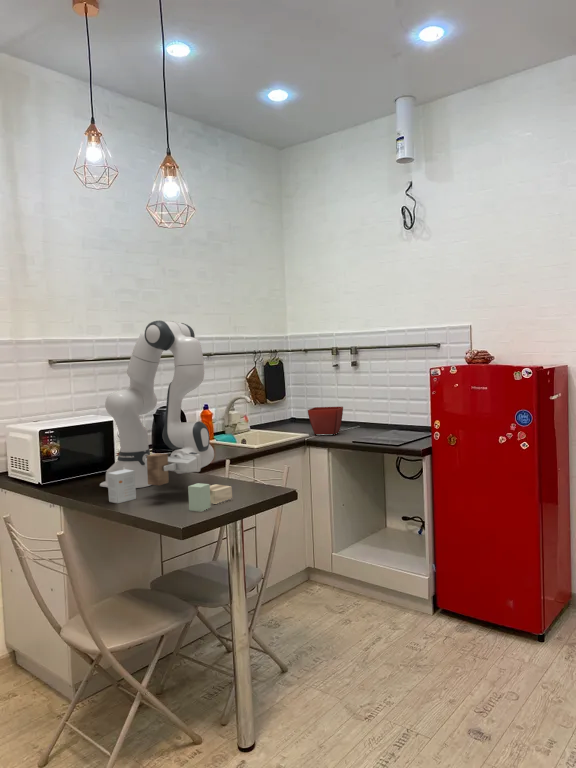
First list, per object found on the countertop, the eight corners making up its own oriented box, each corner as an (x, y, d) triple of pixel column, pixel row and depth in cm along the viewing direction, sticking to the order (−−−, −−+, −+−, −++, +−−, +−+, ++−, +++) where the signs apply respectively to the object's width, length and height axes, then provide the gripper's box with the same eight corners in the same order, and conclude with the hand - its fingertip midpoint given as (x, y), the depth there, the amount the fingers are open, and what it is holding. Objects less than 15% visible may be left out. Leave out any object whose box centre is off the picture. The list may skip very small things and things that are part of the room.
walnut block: (147, 484, 202) (146, 455, 201) (157, 481, 206) (156, 453, 206) (159, 485, 200) (157, 456, 199) (168, 482, 204) (167, 454, 203)
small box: (127, 497, 215) (125, 468, 215) (136, 498, 212) (134, 470, 211) (108, 501, 209) (106, 472, 209) (117, 503, 205) (115, 474, 205)
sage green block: (189, 510, 191) (188, 486, 191) (198, 506, 196) (197, 483, 195) (201, 511, 189) (200, 487, 189) (210, 508, 193) (209, 484, 193)
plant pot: (308, 436, 362) (307, 409, 361) (315, 432, 380) (314, 407, 379) (338, 436, 356) (337, 409, 355) (344, 432, 374) (343, 406, 374)
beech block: (199, 502, 202) (198, 488, 202) (216, 498, 208) (215, 484, 208) (215, 505, 197) (214, 491, 197) (232, 500, 203) (231, 486, 203)
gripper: (159, 450, 219) (133, 457, 207) (203, 454, 209) (178, 460, 197) (160, 467, 219) (133, 474, 207) (204, 471, 209) (179, 479, 197)
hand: (156, 467), depth 202 cm, fingers closed on walnut block, 5 cm apart
